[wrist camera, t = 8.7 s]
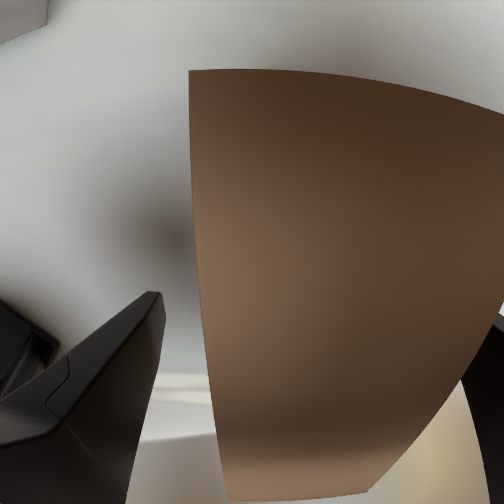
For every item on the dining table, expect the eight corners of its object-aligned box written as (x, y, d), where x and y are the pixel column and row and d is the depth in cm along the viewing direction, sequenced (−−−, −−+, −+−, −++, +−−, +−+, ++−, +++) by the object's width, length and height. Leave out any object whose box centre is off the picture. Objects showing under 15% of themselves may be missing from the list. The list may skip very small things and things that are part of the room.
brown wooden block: (335, 346, 16) (366, 492, 9) (236, 346, 16) (228, 500, 9) (378, 92, 10) (553, 136, 3) (235, 80, 10) (187, 70, 3)
